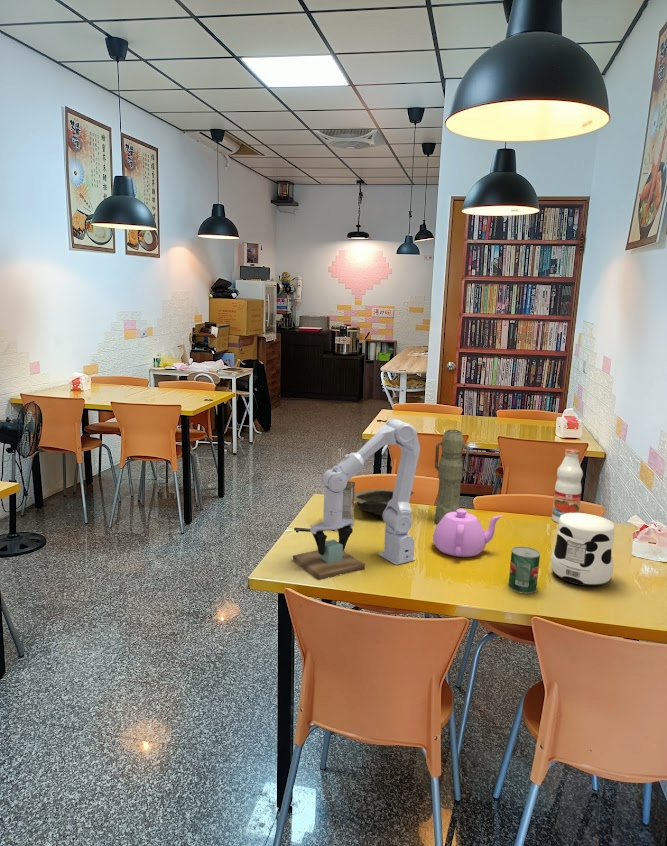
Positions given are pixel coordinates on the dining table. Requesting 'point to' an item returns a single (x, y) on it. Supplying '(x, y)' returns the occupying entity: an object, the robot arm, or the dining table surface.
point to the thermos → (450, 472)
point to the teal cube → (332, 551)
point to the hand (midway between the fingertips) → (331, 551)
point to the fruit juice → (567, 486)
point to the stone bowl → (374, 500)
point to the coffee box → (348, 501)
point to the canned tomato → (524, 569)
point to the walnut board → (325, 570)
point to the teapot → (462, 534)
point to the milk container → (583, 549)
